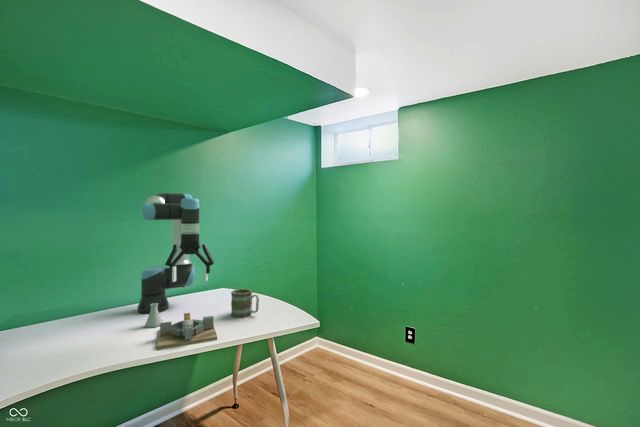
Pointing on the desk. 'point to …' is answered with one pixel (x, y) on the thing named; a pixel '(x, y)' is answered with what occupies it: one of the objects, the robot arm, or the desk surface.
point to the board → (174, 341)
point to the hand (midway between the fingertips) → (190, 281)
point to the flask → (153, 317)
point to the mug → (243, 303)
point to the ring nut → (186, 327)
